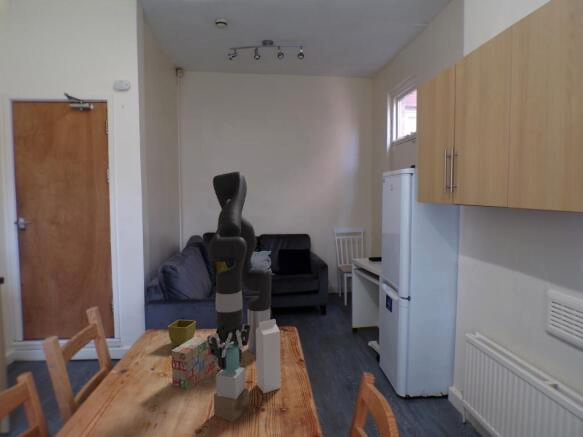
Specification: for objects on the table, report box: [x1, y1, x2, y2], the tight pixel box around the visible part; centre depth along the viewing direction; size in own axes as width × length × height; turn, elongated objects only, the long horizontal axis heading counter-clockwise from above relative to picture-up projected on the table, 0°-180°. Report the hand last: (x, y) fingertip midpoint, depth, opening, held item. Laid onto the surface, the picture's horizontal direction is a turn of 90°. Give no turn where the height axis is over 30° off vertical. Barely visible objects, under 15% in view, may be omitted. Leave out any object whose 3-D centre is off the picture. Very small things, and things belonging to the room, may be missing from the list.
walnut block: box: [213, 388, 250, 423], centre depth 99 cm, size 7×7×6 cm
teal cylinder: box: [221, 342, 240, 372], centre depth 98 cm, size 5×5×6 cm
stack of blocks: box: [171, 336, 219, 390], centre depth 122 cm, size 21×6×12 cm, turn 158°
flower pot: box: [167, 319, 197, 347], centre depth 147 cm, size 9×9×9 cm
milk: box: [255, 318, 282, 394], centre depth 112 cm, size 6×6×22 cm
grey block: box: [215, 366, 246, 399], centre depth 99 cm, size 6×6×6 cm
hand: (230, 364), depth 98 cm, fingers closed on teal cylinder, 5 cm apart
